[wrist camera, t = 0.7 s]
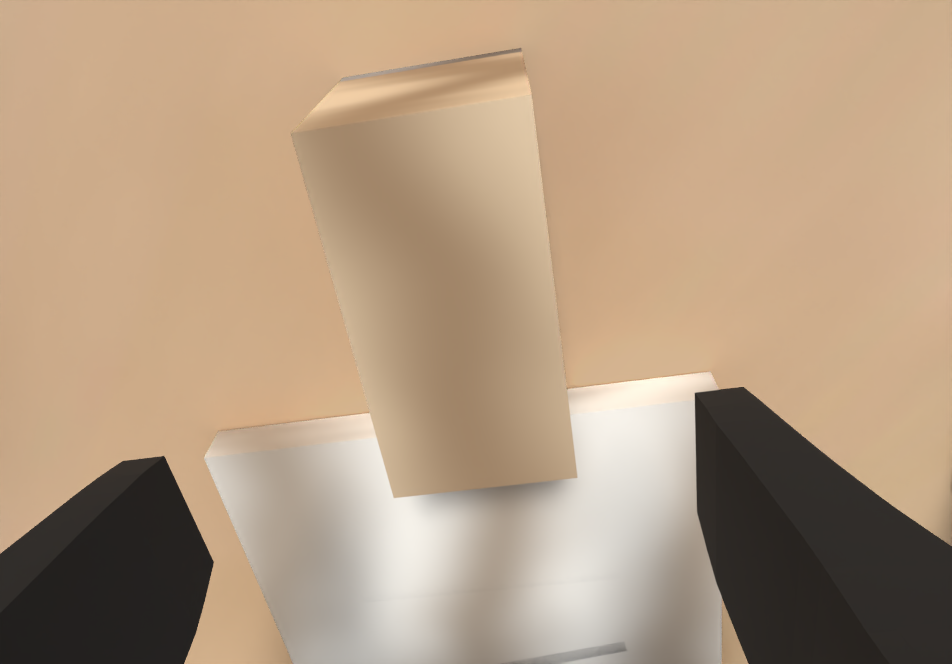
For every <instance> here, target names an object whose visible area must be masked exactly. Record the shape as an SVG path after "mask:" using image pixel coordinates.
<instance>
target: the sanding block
mask: <svg viewBox="0 0 952 664" xmlns="http://www.w3.org/2000/svg"><path fill="white" fill-rule="evenodd" d="M291 136H292V140H293V144H294V147H295V151H296V154H297V158H298V161H299V165H300V168H301V172H302V175H303V179H304V182H305V186H306V190H307V193H308V197H309V200H310V204H311V207H312V211H313V214H314V218H315V221H316V225H317V228H318V232H319V236H320V239H321V243H322V246H323V250H324V253H325V257H326V260H327V264H328V267H329V271H330V274H331V278H332V281H333V285H334V289H335V292H336V296H337V299H338V303H339V306H340V310H341V313H342V317H343V320H344V324H345V327H346V331H347V335H348V338H349V342H350V345H351V349H352V352H353V356H354V359H355V363H356V366H357V370H358V373H359V377H360V381H361V384H362V388H363V391H364V395H365V398H366V402H367V405H368V409H369V412H370V416H371V419H372V423H373V426H374V430H375V434H376V437H377V441H378V444H379V448H380V451H381V455H382V458H383V462H384V465H385V469H386V472H387V476H388V480H389V483H390V487H391V490H392V494H393V497H394V498H400V497H409V496H418V495H427V494H436V493H445V492H454V491H463V490H472V489H481V488H490V487H499V486H508V485H517V484H526V483H535V482H544V481H554V480H563V479H572V478H578V477H577V469H576V460H575V452H574V444H573V435H572V427H571V419H570V410H569V402H568V394H567V385H566V377H565V369H564V360H563V352H562V344H561V335H560V327H559V319H558V310H557V302H556V294H555V285H554V277H553V268H552V260H551V252H550V243H549V235H548V227H547V218H546V210H545V202H544V193H543V185H542V177H541V168H540V160H539V152H538V143H537V135H536V127H535V118H534V110H533V102H532V94H531V90H530V85H529V81H528V76H527V72H526V68H525V63H524V59H523V55H522V50H521V48H518V49H512V50H506V51H500V52H494V53H488V54H482V55H476V56H470V57H464V58H458V59H452V60H446V61H440V62H434V63H428V64H422V65H416V66H410V67H404V68H398V69H392V70H386V71H380V72H374V73H368V74H362V75H356V76H350V77H344V78H342V79H341V80H340V81H339V82H338V84H337V85H336V86H335V87H334V88H333V89H332V90H331V91H330V92H329V93H328V94H327V95H326V96H325V97H324V98H323V99H322V101H321V102H320V103H319V104H318V105H317V106H316V107H315V108H314V109H313V110H312V111H311V112H310V113H309V114H308V115H307V116H306V118H305V119H304V120H303V121H302V122H301V123H300V124H299V125H298V126H297V127H296V128H295V129H294V130H293V131H292V132H291Z"/></svg>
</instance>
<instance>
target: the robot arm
mask: <svg viewBox="0 0 952 664" xmlns="http://www.w3.org/2000/svg"><path fill="white" fill-rule="evenodd" d="M695 437H696V490H697V514H698V518H699V522H700V525H701V529H702V533H703V537H704V540H705V544H706V548H707V552H708V555H709V559H710V562H711V566H712V569H713V573H714V576H715V580H716V583H717V586H718V588H719V591H720V594H721V596H722V599H723V601H724V604H725V606H726V609H727V611H728V614H729V616H730V619H731V621H732V624H733V626H734V629H735V631H736V634H737V636H738V639H739V641H740V644H741V646H742V649H743V651H744V654H745V656H746V658H747V661H748V663H749V664H952V546H950V545H949V544H947V543H946V542H944V541H943V540H941V539H940V538H938V537H937V536H935V535H934V534H933V533H931V532H930V531H928V530H927V529H925V528H924V527H922V526H921V525H919V524H918V523H916V522H915V521H914V520H912V519H911V518H909V517H908V516H906V515H905V514H903V513H902V512H900V511H899V510H897V509H896V508H895V507H893V506H892V505H891V504H889V503H888V502H886V501H885V500H884V499H882V498H881V497H880V496H878V495H877V494H876V493H874V492H873V491H872V490H870V489H869V488H868V487H867V486H865V485H864V484H863V483H861V482H860V481H859V480H857V479H856V478H855V477H853V476H852V475H851V474H850V473H848V472H847V471H846V470H844V469H843V468H842V467H840V466H839V465H838V464H836V463H835V462H834V461H833V460H831V459H830V458H829V457H828V456H826V455H825V454H824V453H823V452H821V451H820V450H819V449H818V448H816V447H815V446H814V445H813V444H812V443H810V442H809V441H808V440H807V439H806V438H804V437H803V436H802V435H801V434H799V433H798V432H797V431H796V430H795V429H793V428H792V427H791V426H790V425H789V424H787V423H786V422H785V421H784V420H783V419H781V418H780V417H779V416H778V415H777V414H776V413H774V412H773V411H772V410H771V409H770V408H768V407H767V406H766V405H765V404H764V403H762V402H761V401H760V400H759V399H758V398H756V397H755V396H754V395H753V394H751V393H750V392H749V391H748V390H747V389H745V388H744V387H738V388H730V389H721V390H713V391H705V392H696V393H695ZM213 563H214V562H213V560H212V557H211V555H210V553H209V551H208V549H207V547H206V545H205V542H204V540H203V538H202V536H201V534H200V532H199V530H198V527H197V525H196V523H195V521H194V519H193V517H192V515H191V512H190V510H189V508H188V506H187V504H186V502H185V500H184V497H183V495H182V493H181V491H180V489H179V487H178V485H177V482H176V480H175V478H174V476H173V474H172V472H171V470H170V467H169V465H168V463H167V461H166V459H165V457H164V456H162V457H153V458H145V459H137V460H128V461H122V462H121V463H119V464H118V465H116V466H115V467H113V468H112V469H110V470H109V471H107V472H106V473H104V474H103V475H102V476H100V477H99V478H97V479H96V480H95V481H93V482H92V483H91V484H89V485H88V486H87V487H85V488H84V489H83V490H81V491H80V492H79V493H77V494H76V495H75V496H73V497H72V498H71V499H70V500H68V501H67V502H66V503H64V504H63V505H62V506H61V507H59V508H58V509H57V510H55V511H54V512H53V513H52V514H50V515H49V516H48V517H47V518H45V519H44V520H43V521H42V522H40V523H39V524H38V525H36V526H35V527H34V528H33V529H31V530H30V531H29V532H28V533H26V534H25V535H24V536H22V537H21V538H20V539H19V540H17V541H16V542H15V543H14V544H12V545H11V546H10V547H8V548H7V549H6V550H5V551H3V552H2V553H1V554H0V664H184V662H185V660H186V657H187V655H188V652H189V649H190V647H191V644H192V642H193V639H194V636H195V634H196V631H197V627H198V623H199V620H200V616H201V612H202V609H203V605H204V602H205V597H206V593H207V589H208V585H209V580H210V576H211V572H212V568H213Z"/></svg>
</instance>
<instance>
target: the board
mask: <svg viewBox="0 0 952 664" xmlns="http://www.w3.org/2000/svg"><path fill="white" fill-rule="evenodd" d="M713 390H719V388H718V386H717V384H716V382H715V380H714V378H713V376H712V374H711V372H703V373H695V374H687V375H678V376H670V377H662V378H654V379H645V380H637V381H629V382H621V383H613V384H604V385H596V386H588V387H580V388H571V389H567V394H568V402H569V410H570V419H571V427H572V435H573V444H574V452H575V460H576V469H577V477H578V478H572V479H563V480H554V481H544V482H535V483H526V484H517V485H508V486H499V487H490V488H481V489H472V490H463V491H454V492H445V493H436V494H427V495H418V496H409V497H400V498H394V497H393V494H392V490H391V487H390V483H389V480H388V476H387V472H386V469H385V465H384V462H383V458H382V455H381V451H380V448H379V444H378V441H377V437H376V434H375V430H374V426H373V423H372V419H371V416H370V413H366V414H357V415H349V416H341V417H333V418H324V419H316V420H308V421H300V422H292V423H283V424H275V425H267V426H259V427H250V428H242V429H234V430H226V431H218V433H217V435H216V436H215V438H214V440H213V442H212V444H211V446H210V448H209V450H208V451H207V453H206V455H205V457H204V459H205V461H206V464H207V466H208V468H209V471H210V473H211V475H212V478H213V480H214V482H215V485H216V487H217V489H218V491H219V494H220V496H221V498H222V501H223V503H224V505H225V508H226V510H227V512H228V515H229V517H230V519H231V521H232V524H233V526H234V528H235V531H236V533H237V535H238V538H239V540H240V542H241V545H242V547H243V549H244V551H245V554H246V556H247V558H248V561H249V563H250V565H251V568H252V570H253V572H254V575H255V577H256V579H257V581H258V584H259V586H260V588H261V591H262V593H263V595H264V598H265V600H266V602H267V604H268V607H269V609H270V611H271V614H272V616H273V618H274V621H275V623H276V625H277V628H278V630H279V632H280V634H281V637H282V639H283V641H284V644H285V646H286V648H287V651H288V653H289V655H290V658H291V660H292V662H293V664H721V662H722V596H721V594H720V591H719V588H718V586H717V583H716V580H715V576H714V573H713V569H712V566H711V562H710V559H709V555H708V552H707V548H706V544H705V540H704V537H703V533H702V529H701V525H700V522H699V518H698V514H697V490H696V437H695V393H696V392H705V391H713Z"/></svg>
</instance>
